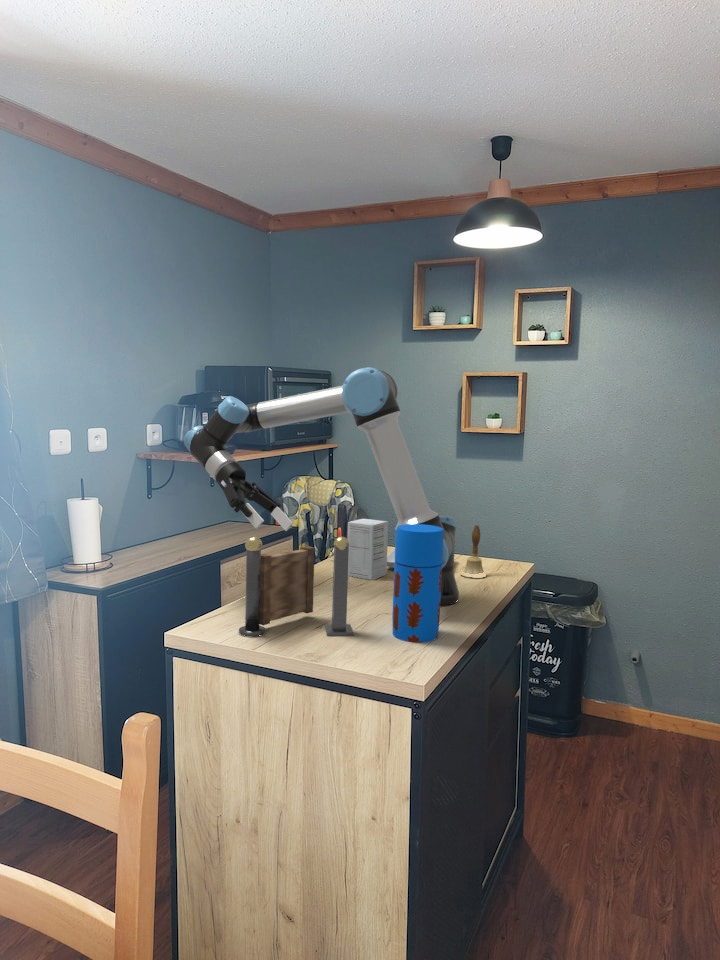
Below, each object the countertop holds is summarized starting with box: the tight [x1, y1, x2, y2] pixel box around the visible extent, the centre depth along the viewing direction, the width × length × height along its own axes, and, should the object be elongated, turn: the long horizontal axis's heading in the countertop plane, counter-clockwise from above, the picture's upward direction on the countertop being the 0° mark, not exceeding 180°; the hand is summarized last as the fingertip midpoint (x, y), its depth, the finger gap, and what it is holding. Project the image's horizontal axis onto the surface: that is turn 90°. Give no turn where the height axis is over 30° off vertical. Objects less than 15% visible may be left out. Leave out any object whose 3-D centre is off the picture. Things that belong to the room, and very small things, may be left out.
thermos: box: [391, 524, 444, 643], centre depth 164 cm, size 11×11×25 cm
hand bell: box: [462, 524, 485, 574], centre depth 224 cm, size 8×8×16 cm
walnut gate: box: [259, 545, 316, 626], centre depth 169 cm, size 16×2×16 cm, turn 138°
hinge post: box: [238, 535, 267, 637], centre depth 162 cm, size 6×6×22 cm
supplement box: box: [347, 518, 389, 581], centre depth 219 cm, size 10×9×17 cm
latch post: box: [324, 536, 354, 637], centre depth 164 cm, size 6×6×22 cm
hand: (275, 526), depth 180 cm, fingers open, 13 cm apart
